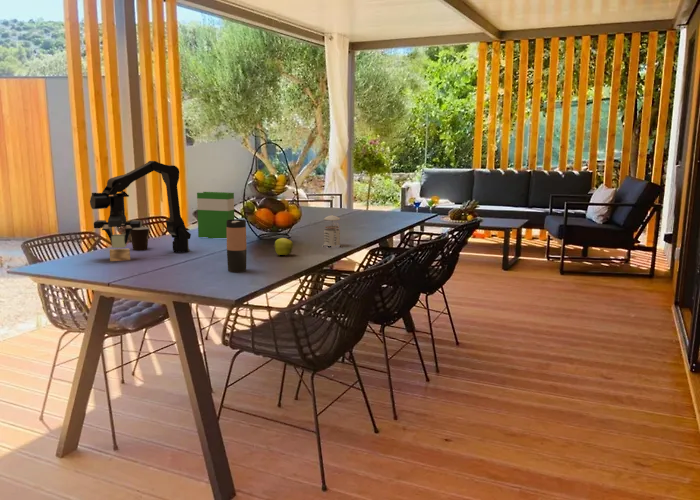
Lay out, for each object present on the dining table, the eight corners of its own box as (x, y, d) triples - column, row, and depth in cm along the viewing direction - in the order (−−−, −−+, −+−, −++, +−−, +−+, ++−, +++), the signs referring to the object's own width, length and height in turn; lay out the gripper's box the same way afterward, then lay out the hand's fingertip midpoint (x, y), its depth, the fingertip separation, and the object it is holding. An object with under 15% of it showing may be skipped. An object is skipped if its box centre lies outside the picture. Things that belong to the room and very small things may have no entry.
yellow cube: (126, 245, 258) (126, 234, 258) (124, 247, 254) (123, 235, 253) (114, 245, 258) (113, 234, 257) (112, 247, 253) (111, 236, 252)
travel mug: (241, 267, 241) (240, 218, 238) (250, 271, 235) (249, 220, 232) (223, 270, 237) (222, 220, 233) (232, 273, 231) (231, 222, 227)
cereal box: (198, 237, 318) (196, 192, 314) (205, 235, 325) (203, 191, 321) (228, 239, 314) (227, 193, 309) (234, 237, 321) (233, 192, 316)
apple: (273, 253, 273) (273, 236, 272) (293, 254, 273) (293, 237, 272) (271, 257, 266) (271, 239, 264) (292, 257, 266) (292, 239, 264)
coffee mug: (143, 251, 275) (142, 229, 273) (126, 250, 277) (125, 229, 275) (156, 247, 286) (155, 226, 285) (140, 246, 288) (139, 226, 286)
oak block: (129, 257, 262) (129, 248, 261) (130, 260, 254) (129, 251, 254) (110, 258, 259) (109, 249, 258) (110, 261, 251) (109, 252, 251)
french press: (336, 243, 303) (337, 194, 299) (346, 247, 293) (347, 196, 289) (319, 245, 299) (319, 195, 295) (328, 248, 289) (328, 197, 285)
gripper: (89, 210, 243) (91, 247, 246) (136, 209, 247) (138, 246, 249) (95, 207, 254) (98, 243, 257) (141, 206, 257) (143, 242, 260)
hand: (119, 244), depth 255 cm, fingers open, 5 cm apart
